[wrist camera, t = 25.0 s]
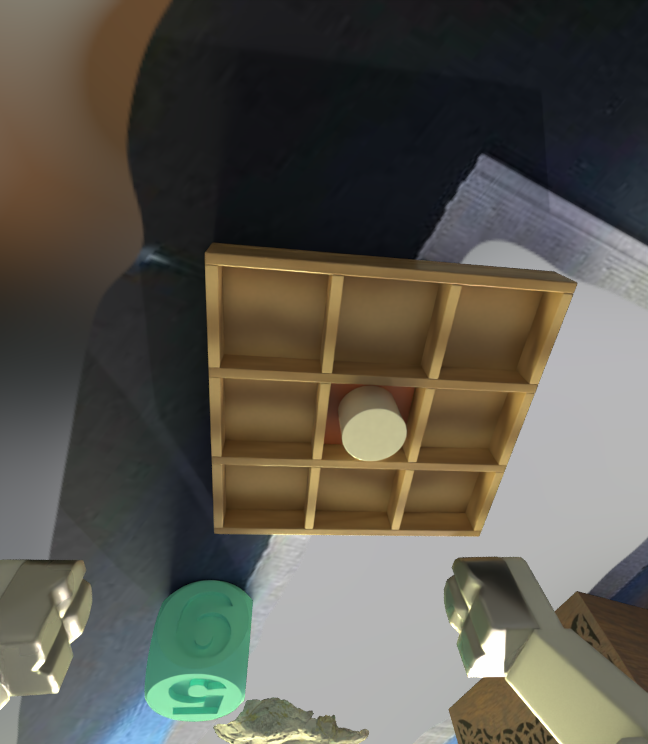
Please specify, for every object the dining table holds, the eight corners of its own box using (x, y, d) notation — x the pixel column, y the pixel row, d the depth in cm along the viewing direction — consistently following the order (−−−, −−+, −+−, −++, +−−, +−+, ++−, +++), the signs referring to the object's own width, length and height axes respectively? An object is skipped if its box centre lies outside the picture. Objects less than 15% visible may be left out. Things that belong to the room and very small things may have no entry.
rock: (367, 725, 55) (370, 750, 53) (314, 756, 59) (315, 780, 57) (250, 688, 49) (247, 714, 47) (199, 726, 53) (194, 752, 51)
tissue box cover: (576, 591, 45) (647, 699, 36) (671, 615, 48) (756, 720, 40) (448, 709, 55) (478, 815, 46) (534, 722, 59) (577, 823, 50)
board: (212, 242, 25) (204, 251, 23) (554, 271, 28) (578, 282, 25) (218, 509, 35) (214, 534, 33) (467, 513, 38) (479, 536, 35)
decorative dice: (170, 628, 43) (146, 723, 36) (167, 577, 39) (141, 672, 32) (249, 629, 44) (242, 721, 37) (254, 579, 40) (247, 672, 33)
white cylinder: (341, 383, 29) (346, 406, 27) (402, 386, 30) (412, 409, 27) (334, 434, 32) (338, 460, 29) (391, 436, 32) (400, 462, 29)
